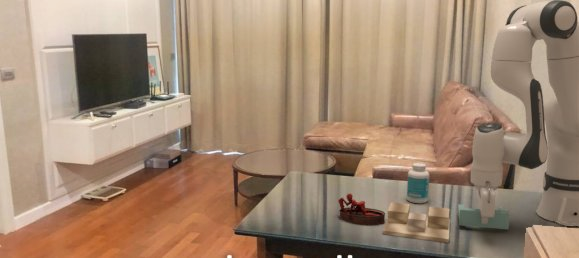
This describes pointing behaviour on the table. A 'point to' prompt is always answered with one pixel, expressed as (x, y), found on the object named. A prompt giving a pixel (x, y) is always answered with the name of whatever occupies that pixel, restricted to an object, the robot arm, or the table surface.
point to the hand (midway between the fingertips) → (483, 220)
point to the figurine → (360, 213)
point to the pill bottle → (418, 184)
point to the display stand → (418, 223)
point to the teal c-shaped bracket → (474, 218)
